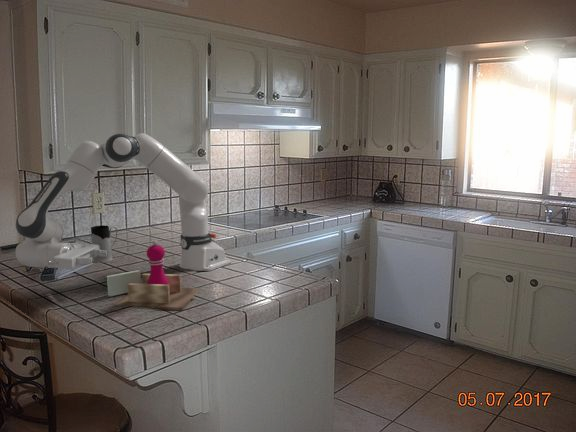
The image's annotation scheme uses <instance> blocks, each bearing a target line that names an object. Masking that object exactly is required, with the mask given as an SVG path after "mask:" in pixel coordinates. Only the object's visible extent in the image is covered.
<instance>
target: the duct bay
mask: <svg viewBox="0 0 576 432" xmlns="http://www.w3.org/2000/svg"><path fill="white" fill-rule="evenodd" d="M164 274H165V276H166V278H167V280H168V284H169V285H166V284H147V282H148V279H149V277H150V273H142V274H141V284H135V283H129V284H128V293H126V294H125V295H124V296H123V297H121V298H120V299H119V300H117V301H116V302H114V303H113V304H112V305H113V306H127V307H129V306H131V307H150V308H149V310H159V311H184V309H186V308H187V307H188V306H189V304H191V302H192V301H193V300H194V299H195V298H194V296H195V295H197V293H198V292H199V291H200V290H202V289H201V287H198V288H197V287H182V275H181V274H176V273H175V274H173V273H171V274H169V273H168V274H167V273H164Z"/></svg>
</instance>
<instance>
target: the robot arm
mask: <svg viewBox="0 0 576 432" xmlns="http://www.w3.org/2000/svg"><path fill="white" fill-rule="evenodd" d="M130 160H134V161H137V162H139V163H141V164H142V165H143V166H144V167H145V168H146V169H148V170H149V171H150V172H151V173H153V174H154V175H155V176H156V177H157V178H159V180H161V181H162V182H164V183H165V184H166V185H167V186H168V187H169V188H171V190H173V191H174V192H175V193H176V194H177V196H178V204H179V214H180V215H179V216H180V231H181V234H180V247H181V253H180V254H181V257H180V262H179V267H180V268H181V269H185V270H192V271H194V272H198V271H200V272H201V271H202V272H203V271H205V272H209V271H210V272H211V271H213V270H217V269H218V268H221V267H223V266H226V265H230V264H231V263H232V260H231V259H230V258H228V257H226V252H225V249H224V248H223V247H221V246H220V245H218V244H217V243H216V242H214V241H213V239H217V234H216V233H210V232H209V221H208V219H209V218H208V211H207V203H206V198H207V197H208V195H209V186H208V183H207V181H206V180H205V179H203V178H202V177H201V176H200V175H199V174H198V173H197V172H195V171H194V170H193V169H192V168H191V167H190V166H188V165H187V164H186V163H185V162H183V160H181V159H180V158H178V157H177V156H176V155H175V154H174V153H173V152H172V151H170V149H168V148H167V147H166V146H164V144H162V143H161V142H160V141H158V140H156V139H155V138H154V137H152V136H150V135H148V134H146V133H144V132H142V133H138V134H136V135H134V136H131V135H127V134H123V133H116V134H112V135H110V137H108V138H107V139H106V140H105V142H103V143H102V144H99V143H97V142H94V141H90V140H83V141H82V142H80V143H79V144H78V146H77V147H76V148H75V149H73V152H72V153H71V155H70V156H69V157H68V159H67V161H66V163H65V164H64V166H63V167H62V168H61V169H60V170H59V171H56V172H54V173H53V174H52V175H51V177H49V179H47V181H46V182H45V184H44V185H43V186H42V187H41V189H40V190H39V191H38V193H37V194H36V196H35V197H34V198H33V199H32V201H31V202H30V203H29V204H28V205H27V206H26V207H24V209H22V210H21V212H20V213H19V214H18V216H17V218H16V221H15V229H16V231H17V233H18V234H19V235H20V236H23V237H25V239H24V240H23V241H22V242H20V243H19V244H17V246H16V248H15V257H16V259H17V261H18V263H20V264H21V265H23V266H26V267H31V268H45V267H46V268H47V267H48V268H51V269H65V270H70V269H74V268H75V267H78V266H80V265H85V264H92V263H95V262H94V261H93V258H94V257H96V256H98V255H99V256H106V255H107V251H104V250H100V247H99V245H96V244H92V243H86V242H85V243H83V242H79V241H70V242H62V240H63V236H64V227H63V226H62V224H61V223H59V222H58V221H57V220H55V219H54V218H52V217H50V216H49V215H48V212H49V210H50V209H51V208H52V206H53V205H54V203H55V202H56V201H57V199H58V198H59V196H61V195H62V194H63V193H65V192H81V191H85V190H87V189H88V188H89V187H90V186H91V184H92V183H93V181H94V179H95V177H96V176H97V173H98V172H99V170H100V169H101V167H105V168H108V169H118V168H121V167H123V166H124V165H126V164H128V162H129V161H130Z"/></svg>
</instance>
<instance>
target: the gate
mask: <svg viewBox="0 0 576 432" xmlns="http://www.w3.org/2000/svg"><path fill="white" fill-rule="evenodd" d="M129 283H135V284H142V274H141V270H139V269H138V270H133V271H127V272H122V273H117V274H111V275H106V284H107V295H108V296H109V297H114V296H118V295H123V294H128V284H129Z"/></svg>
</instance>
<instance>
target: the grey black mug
mask: <svg viewBox="0 0 576 432" xmlns="http://www.w3.org/2000/svg"><path fill="white" fill-rule="evenodd" d="M113 228H114V229H115V240H114V242H113V244H112V245H111V236H112V232H111V231H112V229H113ZM118 235H119V233H118V229H117V227H116V226H111V227H110V226H109V225H105V224H104V225H94V226H92V227H90V238H91V244H96V245H99V247H100V250H104V251H107V255H106V256H99V255H98V256H96V257H94V258H93V261H94V262H93V263H99V264H100V263H102V264H103V263H108V262H111V261H113V260H114V259H113V257H112V249H113V247H115V245H116V244H117V243H116V242H117V239H118Z"/></svg>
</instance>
